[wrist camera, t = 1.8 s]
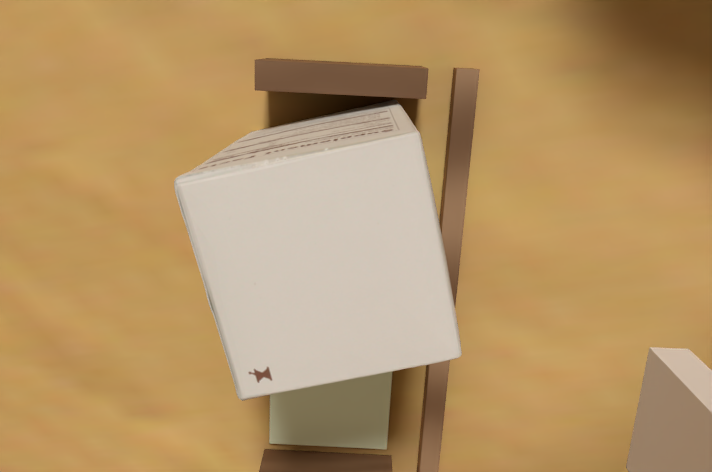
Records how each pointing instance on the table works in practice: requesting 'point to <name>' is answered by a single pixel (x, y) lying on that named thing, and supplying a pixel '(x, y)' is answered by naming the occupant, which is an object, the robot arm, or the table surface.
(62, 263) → the table surface
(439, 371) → the notch rail
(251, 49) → the table surface
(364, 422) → the pad
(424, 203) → the supplement box
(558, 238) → the table surface
